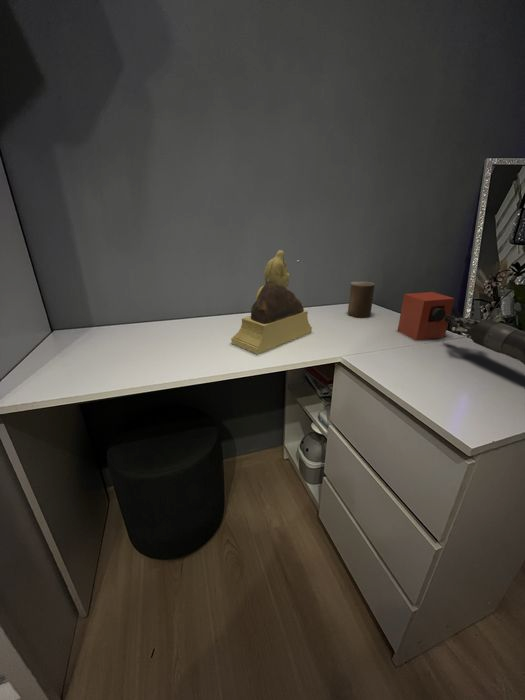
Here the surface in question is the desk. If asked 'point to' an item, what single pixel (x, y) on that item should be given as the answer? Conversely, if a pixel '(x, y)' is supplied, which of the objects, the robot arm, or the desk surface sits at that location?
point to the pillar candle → (361, 299)
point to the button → (437, 314)
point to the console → (423, 315)
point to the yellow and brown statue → (273, 313)
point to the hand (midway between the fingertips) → (446, 318)
